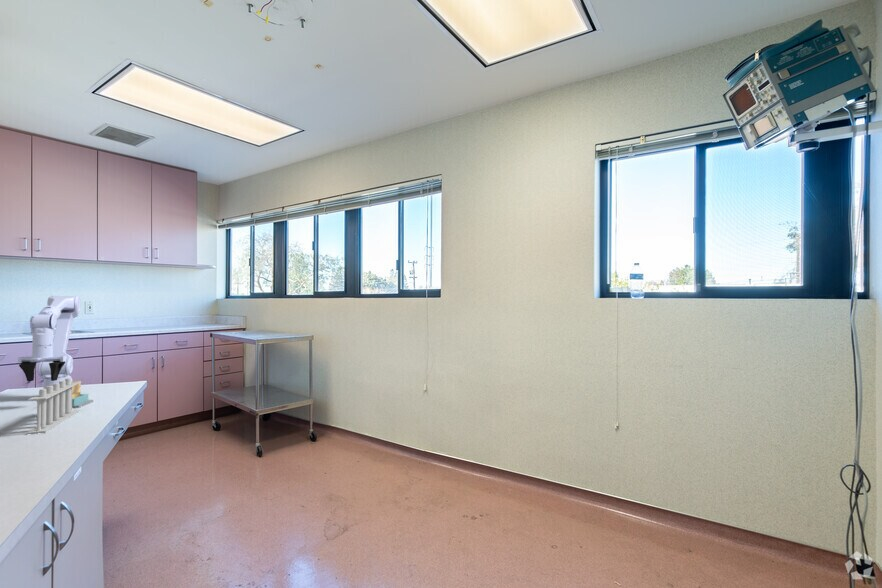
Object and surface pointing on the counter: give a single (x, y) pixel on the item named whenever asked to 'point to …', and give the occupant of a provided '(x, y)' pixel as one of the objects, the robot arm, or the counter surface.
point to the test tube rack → (53, 405)
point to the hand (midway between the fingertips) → (42, 380)
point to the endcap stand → (80, 401)
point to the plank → (76, 390)
